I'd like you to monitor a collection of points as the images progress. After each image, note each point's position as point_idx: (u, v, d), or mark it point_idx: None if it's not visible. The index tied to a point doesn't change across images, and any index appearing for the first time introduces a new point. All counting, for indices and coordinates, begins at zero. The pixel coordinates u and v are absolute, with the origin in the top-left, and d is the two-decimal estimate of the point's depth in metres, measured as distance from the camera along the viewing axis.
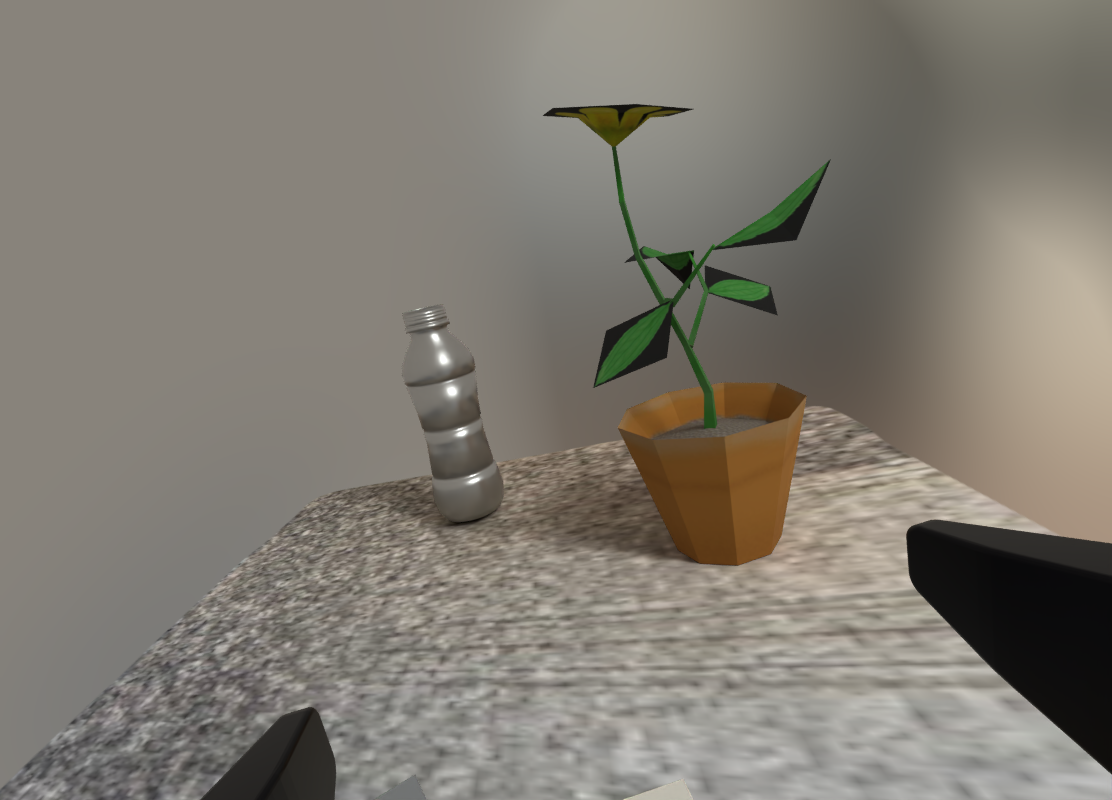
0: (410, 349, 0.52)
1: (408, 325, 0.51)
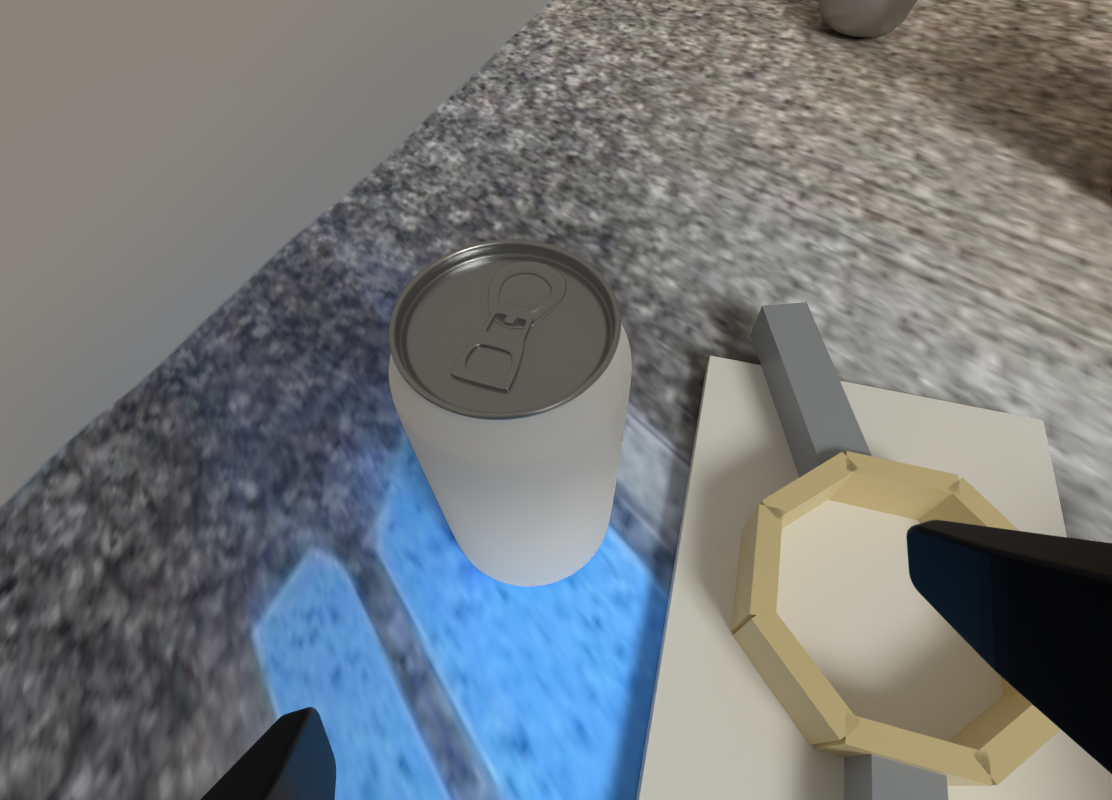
0: None
1: None
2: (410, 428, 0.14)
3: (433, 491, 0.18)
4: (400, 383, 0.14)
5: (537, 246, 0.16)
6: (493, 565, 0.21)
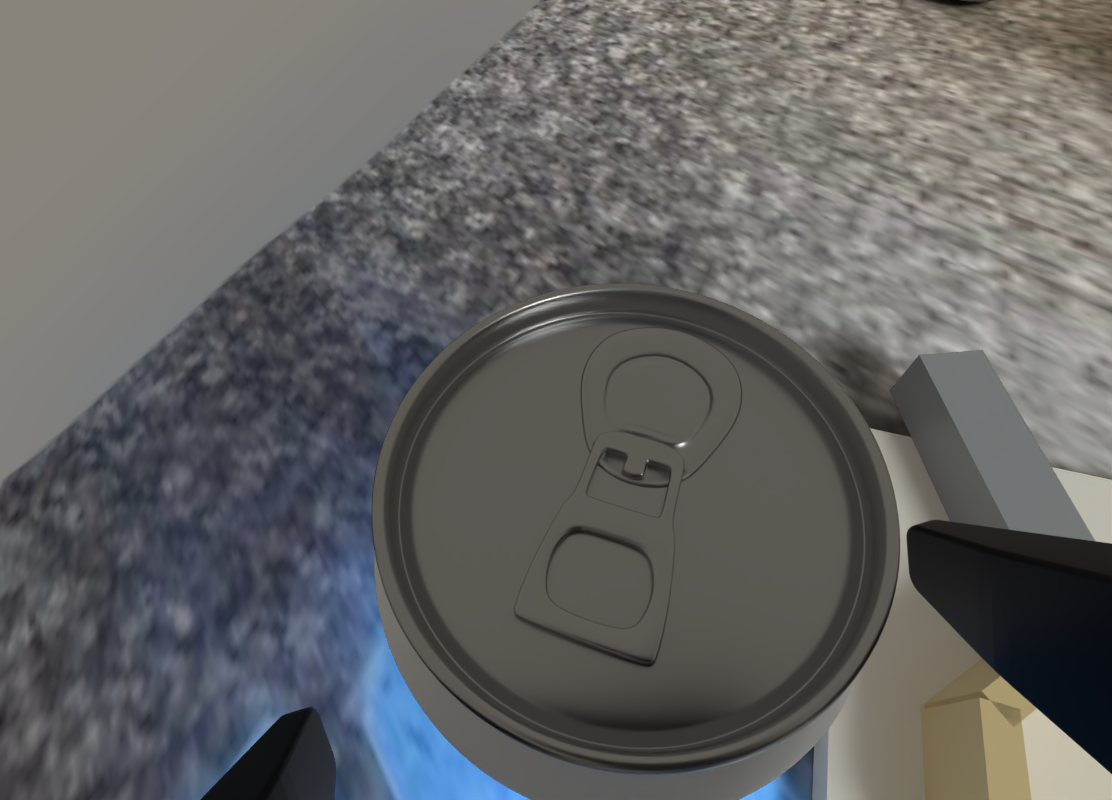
0: None
1: None
2: (419, 703, 0.07)
3: None
4: None
5: (672, 297, 0.08)
6: None
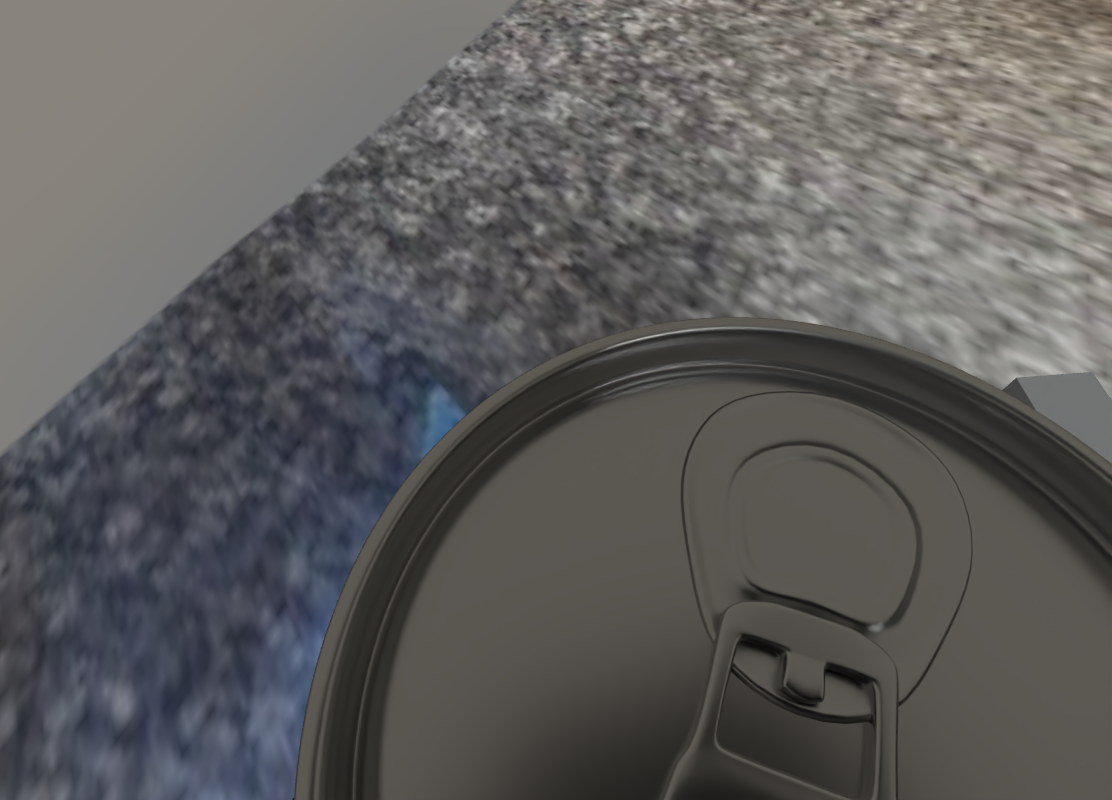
0: None
1: None
2: None
3: None
4: None
5: (823, 341, 0.05)
6: None
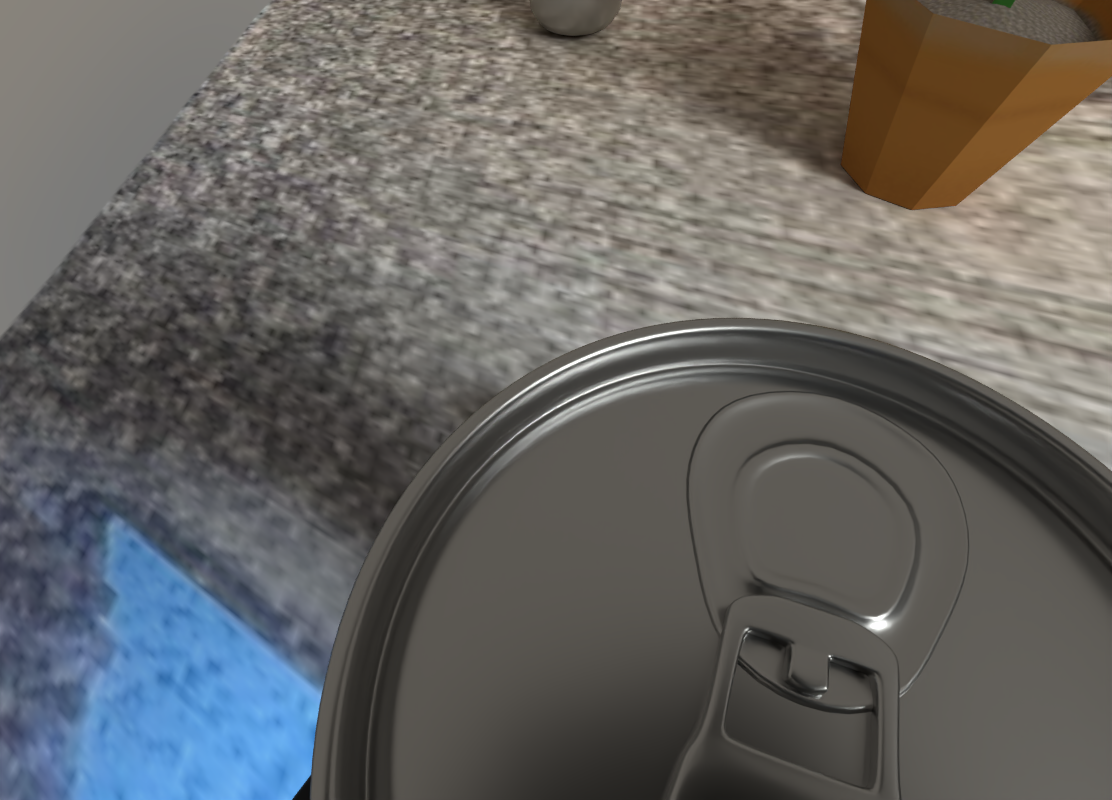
0: None
1: None
2: None
3: None
4: None
5: (823, 343, 0.05)
6: None
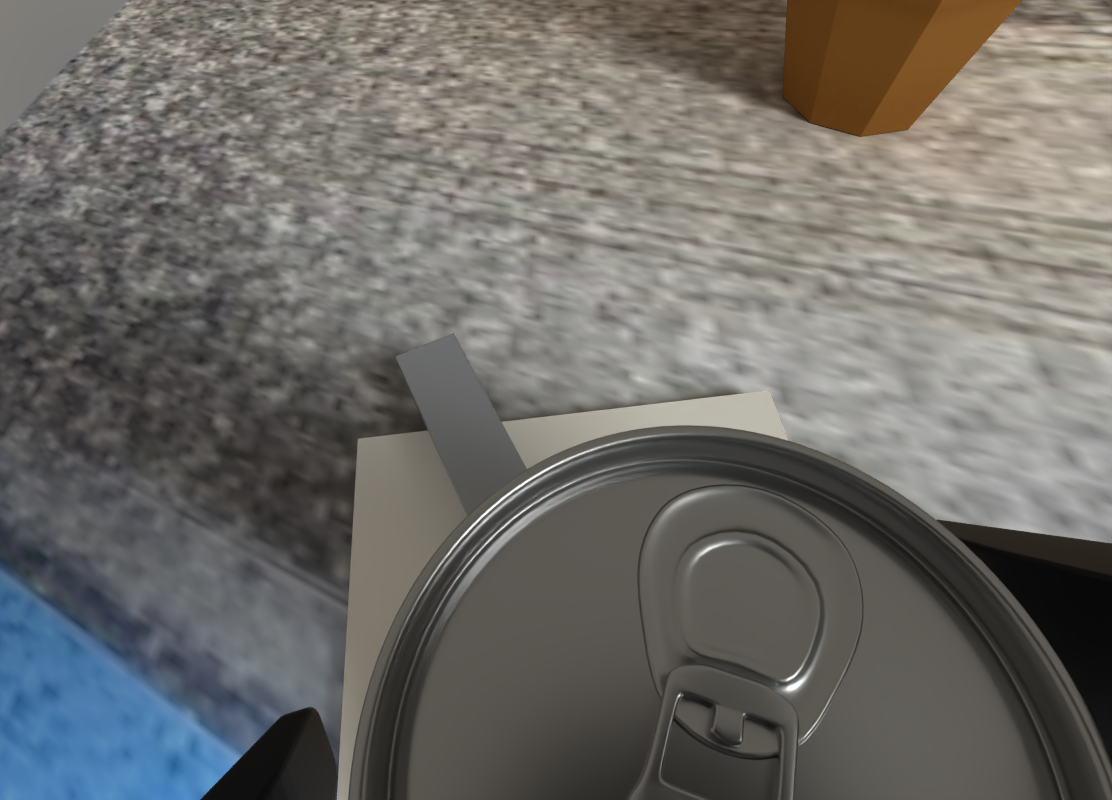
0: None
1: None
2: None
3: None
4: None
5: (752, 442, 0.06)
6: None
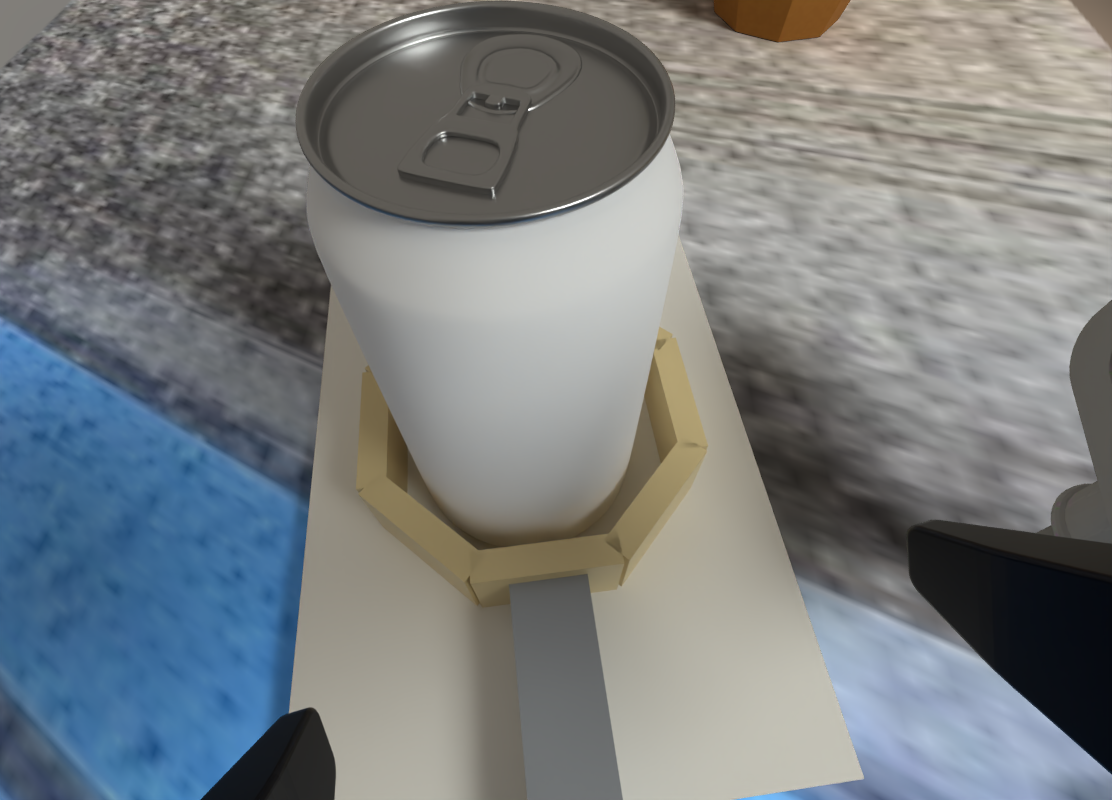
0: None
1: None
2: (337, 275, 0.09)
3: (389, 407, 0.13)
4: (318, 198, 0.09)
5: (536, 13, 0.10)
6: (478, 518, 0.15)
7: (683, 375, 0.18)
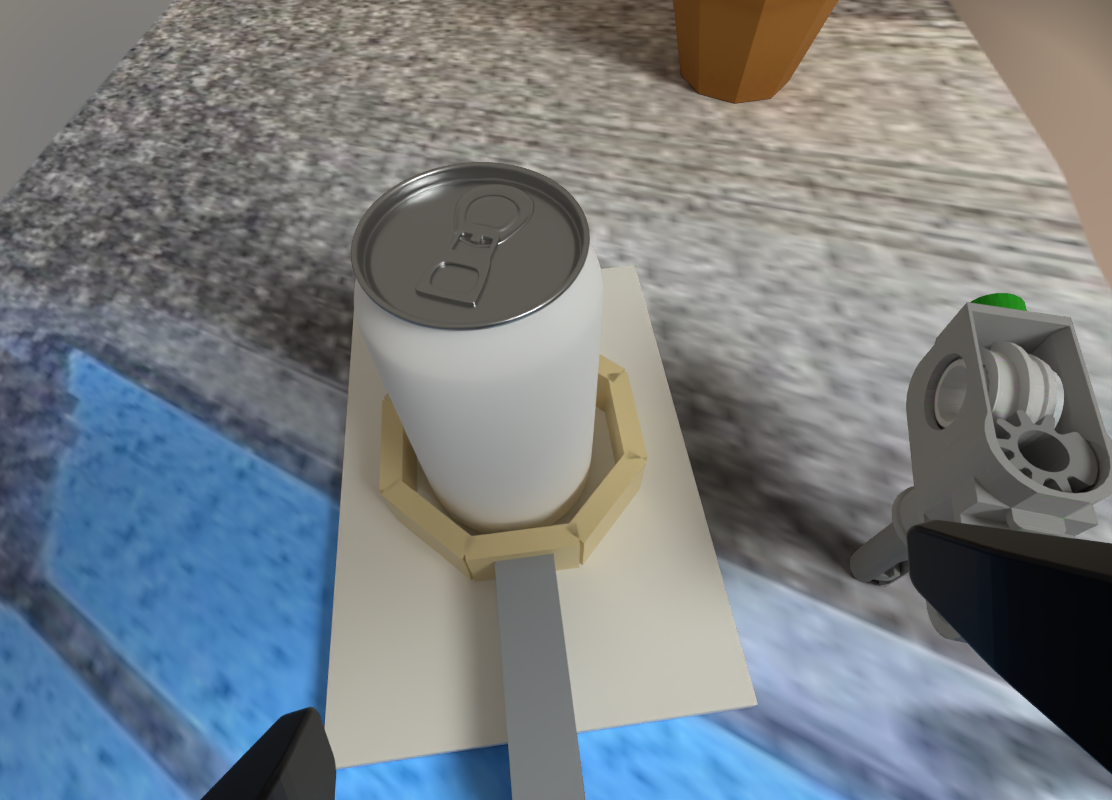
0: None
1: None
2: (376, 351, 0.14)
3: (406, 431, 0.18)
4: (365, 304, 0.14)
5: (504, 169, 0.15)
6: (471, 512, 0.20)
7: (631, 402, 0.23)
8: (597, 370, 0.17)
